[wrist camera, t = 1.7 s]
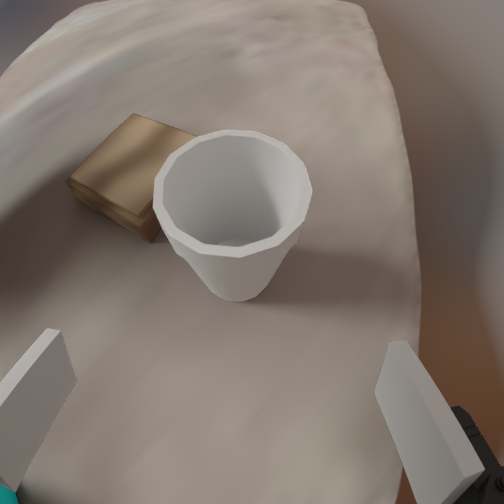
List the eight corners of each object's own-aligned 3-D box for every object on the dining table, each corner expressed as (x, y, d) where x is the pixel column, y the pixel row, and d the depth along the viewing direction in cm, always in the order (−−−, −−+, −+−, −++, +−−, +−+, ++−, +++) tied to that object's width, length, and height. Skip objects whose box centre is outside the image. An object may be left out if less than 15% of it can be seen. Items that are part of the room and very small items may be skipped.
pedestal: (77, 198, 34) (63, 178, 30) (139, 132, 38) (132, 109, 35) (149, 243, 31) (138, 223, 28) (214, 162, 36) (211, 138, 32)
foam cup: (266, 215, 33) (276, 118, 21) (303, 297, 29) (339, 225, 17) (176, 243, 31) (141, 153, 20) (203, 332, 28) (170, 279, 16)
